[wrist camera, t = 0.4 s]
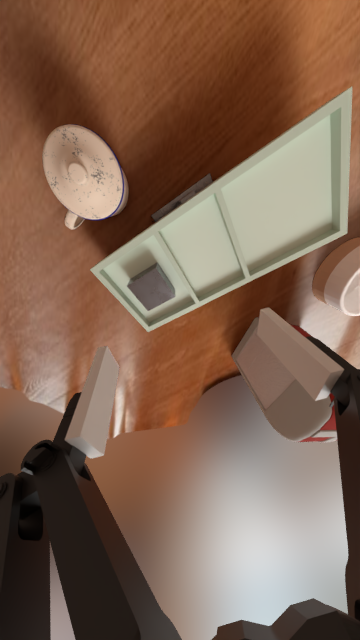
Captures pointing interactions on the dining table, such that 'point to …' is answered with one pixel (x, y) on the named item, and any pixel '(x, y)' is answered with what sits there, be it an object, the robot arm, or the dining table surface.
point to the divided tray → (245, 219)
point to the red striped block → (283, 392)
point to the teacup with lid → (84, 174)
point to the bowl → (340, 278)
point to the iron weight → (152, 287)
